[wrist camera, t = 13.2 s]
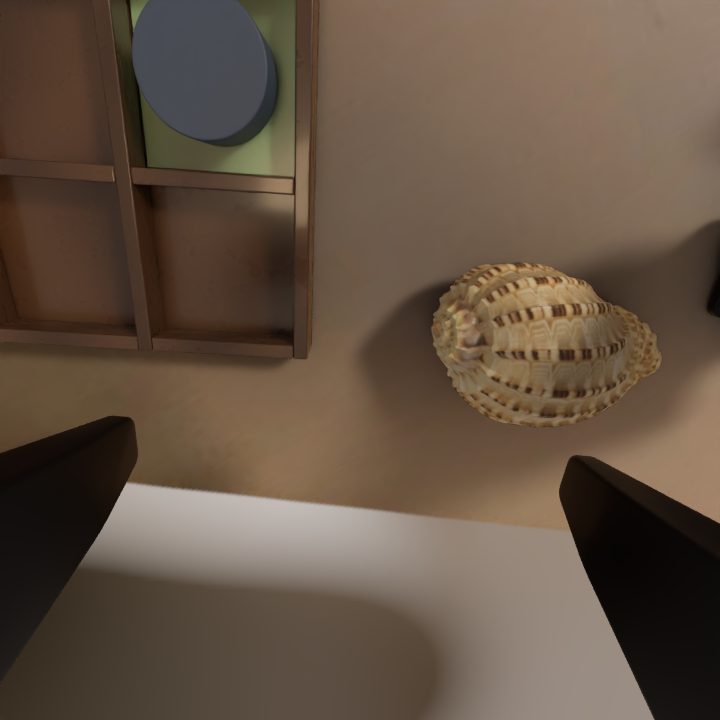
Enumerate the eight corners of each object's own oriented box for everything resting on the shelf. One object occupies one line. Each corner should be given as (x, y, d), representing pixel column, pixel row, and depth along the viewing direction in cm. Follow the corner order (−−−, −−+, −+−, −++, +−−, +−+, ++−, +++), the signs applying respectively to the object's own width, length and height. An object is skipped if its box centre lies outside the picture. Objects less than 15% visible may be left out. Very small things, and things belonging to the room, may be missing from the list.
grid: (320, -22, 15) (314, -51, 13) (311, 345, 20) (307, 360, 18) (-79, -54, 15) (-138, -88, 13) (14, 327, 20) (-19, 340, 18)
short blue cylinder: (278, 11, 15) (266, -15, 13) (279, 150, 16) (268, 145, 15) (151, 1, 15) (121, -26, 13) (165, 142, 16) (139, 135, 15)
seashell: (576, 238, 21) (402, 265, 17) (715, 247, 16) (509, 289, 12) (561, 380, 24) (408, 430, 20) (674, 427, 19) (497, 506, 15)
